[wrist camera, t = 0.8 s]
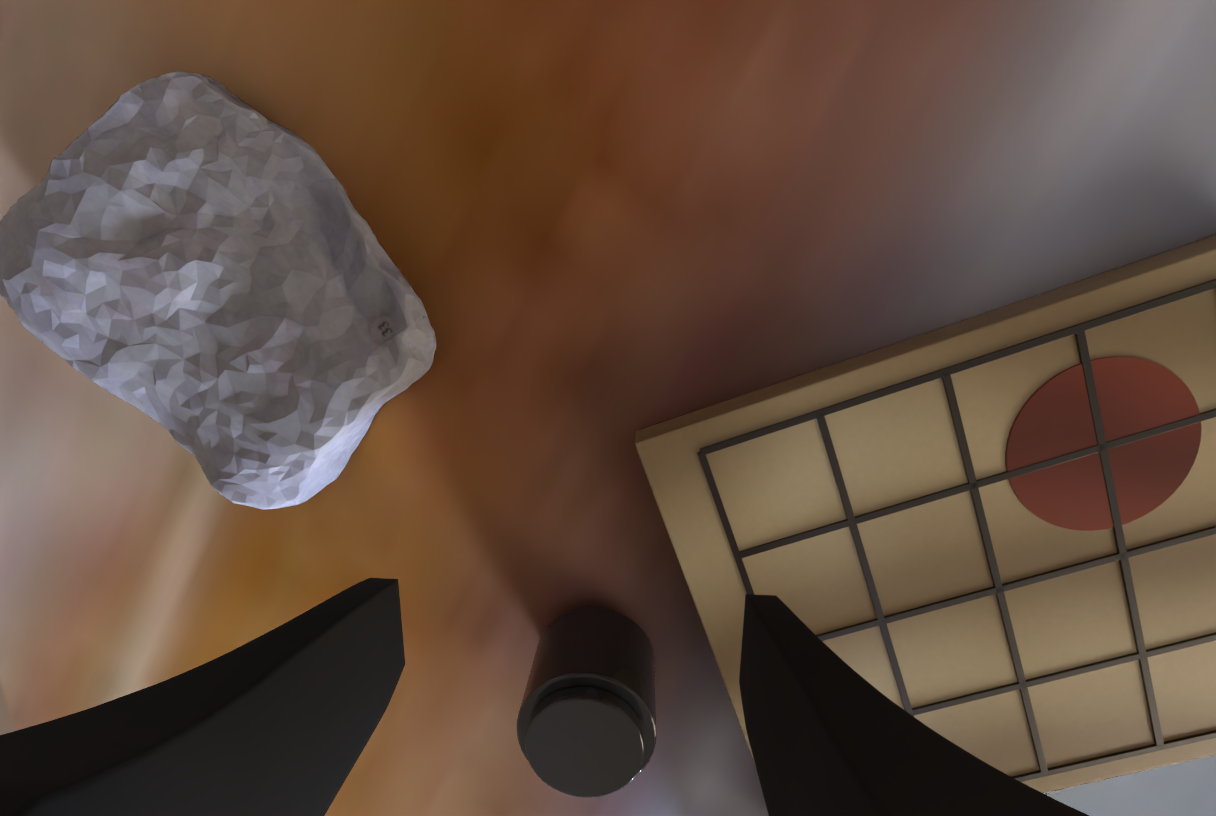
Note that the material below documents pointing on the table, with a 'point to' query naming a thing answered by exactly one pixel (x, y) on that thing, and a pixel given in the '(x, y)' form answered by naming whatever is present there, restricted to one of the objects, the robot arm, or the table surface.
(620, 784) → the black canister
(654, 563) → the table surface
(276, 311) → the stone block
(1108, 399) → the board
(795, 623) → the robot arm
